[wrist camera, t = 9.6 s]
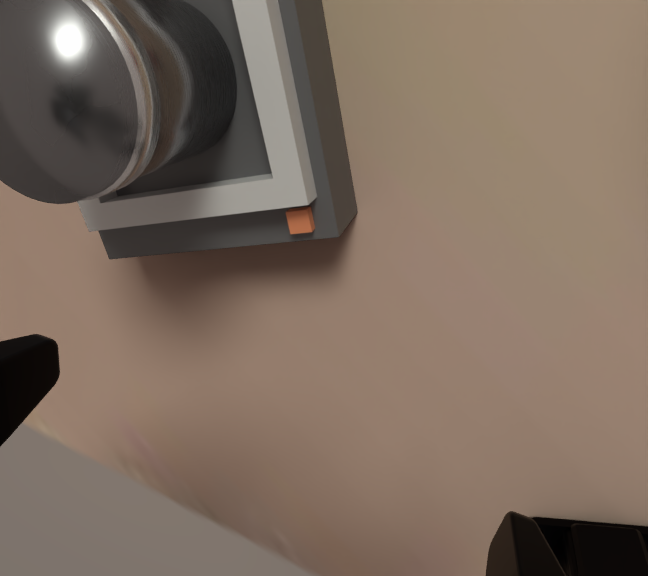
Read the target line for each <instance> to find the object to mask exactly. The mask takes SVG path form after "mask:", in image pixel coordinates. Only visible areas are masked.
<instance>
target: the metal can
mask: <svg viewBox="0 0 648 576" xmlns="http://www.w3.org/2000/svg"><path fill="white" fill-rule="evenodd" d="M236 100H237V79H236V73H235V67H234V63H233V60H232V57H231V54H230V52H229V49H228V47H227V44H226V43H225V41H224V39H223V37H222V36H221V34H220V32H219V31H218V30H217V28H216V27H215V25H214V24H213V23H212V22H211V21H210V20H209V19H208V18H207V17H206V16H205V15H204V14H203V13H202V12H201V11H199V10H198V9H197V8H195V7H194V6H192V5H191V4H189V3H187V2H185V1H183V0H0V180H1V181H2V182H3V183H5V184H6V185H8V186H9V187H11V188H12V189H14V190H15V191H17V192H19V193H21V194H23V195H25V196H27V197H30V198H32V199H35V200H38V201H42V202H46V203H55V204H64V203H72V202H76V201H87V200H91V199H95V198H99V197H101V196H104V195H106V194H109V193H111V192H114V191H116V190H118V189H121V188H123V187H125V186H127V185H128V184H130V183H131V182H133V181H134V180H135V179H136V178H139V177H142V176H144V175H147V174H149V173H152V172H154V171H157V170H160V169H162V168H165V167H167V166H170V165H172V164H175V163H178V162H180V161H183V160H185V159H188V158H191V157H193V156H196V155H198V154H201V153H203V152H205V151H207V150H208V149H210V148H211V147H213V146H214V145H215V144H216V143H217V142H218V141H219V140H220V139H221V138H222V137H223V135H224V134H225V132H226V131H227V129H228V127H229V125H230V123H231V121H232V118H233V115H234V111H235V107H236Z"/></svg>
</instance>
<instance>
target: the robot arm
mask: <svg viewBox="0 0 648 576" xmlns="http://www.w3.org/2000/svg"><path fill="white" fill-rule="evenodd" d="M59 374H60V368H59V354H58V345H57V343H56V341H54V340H53V339H50V338H48V337H45V336H42V335H39V334H33V335H28V336H24V337H19V338H14V339H10V340H5V341H1V342H0V446H1V445H2V444H3V443H4V442H5V441H6V440H7V439H8V438H9V437H10V436H11V434H12V433H13V432H14V431H15V430H16V429H17V428H18V426H19V425H20V424H21V423H22V422H23V421H24V420H25V418H26V417H27V416H28V415H29V414H30V413H31V412H32V410H33V409H34V408H35V407H36V406H37V405H38V403H39V402H40V401H41V400H42V399H43V398H44V397H45V395H46V394H47V393H48V392H49V391H50V390H51V389H52V387H53V386H54V385H55V384H56V382H57V380H58V378H59ZM486 576H648V527H645V526H634V525H622V524H610V523H598V522H587V521H575V520H563V519H551V518H539V517H534V518H529V517H527V516H524V515H521V514H519V513H516V512H513V511H510V512H508V513H507V514H506V515H505V517H504V519H503V521H502V523H501V524H500V526H499V528H498V530H497V532H496V534H495V536H494V538H493V540H492V542H491V544H490V548H489V552H488V560H487V568H486Z"/></svg>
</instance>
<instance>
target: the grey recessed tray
mask: <svg viewBox="0 0 648 576" xmlns="http://www.w3.org/2000/svg"><path fill="white" fill-rule="evenodd" d="M183 1H185V2H187V3H189V4H191V5H192V6H194V7H195V8H197V9H198V10H199V11H201V12H202V13H203V14H204V15H205V16H206V17H207V18H208V19H209V20H210V21H211V22H212V23H213V24H214V25H215V27H216V28H217V30H218V31H219V32H220V34H221V36H222V37H223V39H224V41H225V43H226V44H227V47H228V49H229V52H230V54H231V57H232V60H233V63H234V67H235V73H236V79H237V100H236V107H235V111H234V115H233V118H232V121H231V123H230V125H229V127H228V129H227V131H226V132H225V134H224V135H223V137H222V138H221V139H220V140H219V141H218V142H217V143H216V144H215V145H214V146H213V147H211V148H210V149H208V150H207V151H205V152H203V153H201V154H198V155H196V156H193V157H191V158H188V159H185V160H183V161H180V162H178V163H175V164H172V165H170V166H167V167H165V168H162V169H160V170H157V171H154V172H152V173H149V174H147V175H144V176H142V177H139V178H136V179H135V180H134V181H133V182H131V183H130V184H128V185H127V186H125V187H123V188H121V189H118V190H116V191H114V192H111V193H109V194H106V195H104V196H101V197H99V198H95V199H91V200H87V201H77V202H78V204H79V207H80V210H81V212H82V215H83V217H84V220H85V222H86V225H87V228H88V230H89V232H91V231H99V233H100V236H101V239H102V241H103V244H104V247H105V249H106V252H107V254H108V257H109V259H118V258H128V257H138V256H149V255H159V254H169V253H180V252H190V251H200V250H211V249H221V248H231V247H241V246H252V245H262V244H272V243H283V242H293V241H303V240H314V239H324V238H334V237H339V236H340V235H341V234H342V232H343V231H344V230H345V228H346V227H347V226H348V224H349V223H350V222H351V220H352V219H353V218H354V216H355V215H356V214H357V212H358V211H357V206H356V200H355V194H354V188H353V182H352V176H351V170H350V164H349V159H348V153H347V147H346V141H345V135H344V129H343V123H342V117H341V111H340V106H339V100H338V94H337V88H336V82H335V76H334V70H333V64H332V59H331V53H330V47H329V41H328V35H327V29H326V23H325V17H324V12H323V6H322V0H183Z"/></svg>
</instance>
